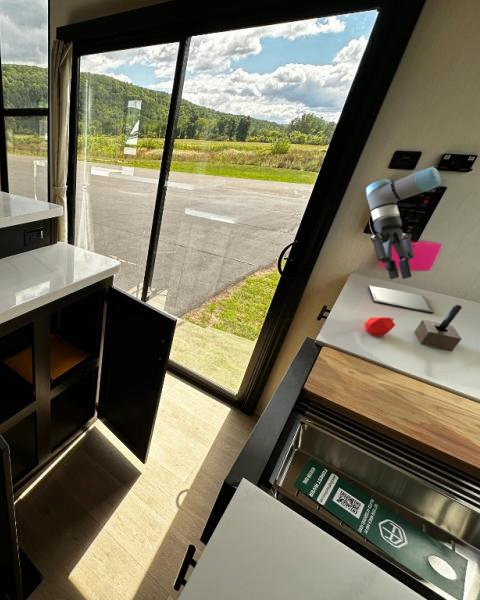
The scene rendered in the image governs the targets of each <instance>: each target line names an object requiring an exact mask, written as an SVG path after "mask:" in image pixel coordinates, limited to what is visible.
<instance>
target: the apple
mask: <svg viewBox="0 0 480 600" xmlns="http://www.w3.org/2000/svg"><path fill="white" fill-rule="evenodd" d="M395 326H396V324H395V323H394V318H391V317H387V316H386V317H385V316H379V317H377V316H376V317H369V318H368V319H367V321H365V323H364V328H365V329H364V330H365V331H366V332H367V333H368V334H370V335H371V336H374V337H375V336H377V337H385V336H386V335H388V333H389V332H391V331H392V330H393V329H394V327H395Z"/></svg>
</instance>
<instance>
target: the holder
mask: <svg viewBox="0 0 480 600" xmlns="http://www.w3.org/2000/svg"><path fill="white" fill-rule="evenodd" d="M441 323H442V322H437V321H431V320H427V319H421V321H420V323H419V324H418V325H417V326H416V329H414V334H415V336H416V338H417V339H418V343H419V344H420V345H424V346H428V347H431V348H436V349H440V350H445V351H449V352H453V351H454V349H455V348H456V347H457V345H458V344H459V343H460V342H461V340H462V337H461V335H460V334H459V332H458V331H457V329H456V328H455V326H454V325H451V324H449V325H448V327H447V328H446V329H445V331H439V330H437V328H438V327H439V326H440V324H441Z"/></svg>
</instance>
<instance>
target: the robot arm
mask: <svg viewBox="0 0 480 600" xmlns="http://www.w3.org/2000/svg"><path fill="white" fill-rule="evenodd" d="M429 167H430V166H429ZM434 167H435V166H432V167H430V168H427V169H425V170H421V171H418V170H417V171H418V172H416V171H415V172H413V173H412V174H409V175H407V176H405V177H402V178H400V179H397V180H395V181H391V180H390V179H381V180H377V181H374V182H372V183H370V184H368V186H366V189H365V193H366V199H367V203H368V207H369V211H370V214H371V219H372V222H373V228H374V231H375V232H376V234H375V235H372V236H370V238H369V239H370V241H371V242H372V244H373V247H374V251H375V255H376V258H377V261H379V262H381V263H382V264H384V265H385V269H386V271H387V273H388V277H389V279H390V280H393V279H397V278H399V277H400V275H401V278H402V279H403V280H405V279H408V278H412V277H413V275H412V272H411V264H410V260H412V259H415V253H414V249H413V244H412V240H411V239H412V234H411V233H409V232H408V233H405V232H403V230H402V226H403V222H402V219H401V217H400V211H399V208H398V207H399V206H398V204H397V202H398V201H403V200H405V199H408V198H410V197H414V196H416V195H420V194H423V193H425V192H429V191H430V190H433V189H437V188H439V187H438V186H440V185H441V176H440V174H439V172H438V170H437V169H436V168H434ZM391 184H392V185H391ZM391 186H392V187H391ZM436 187H437V188H436ZM392 190H393V191H392ZM393 248H394V251H395V252H396V255H397V257H398V259H399V261H398V267H397V262H396V260H395V259H393ZM398 268H399V270H398ZM398 271H400V275H399V272H398Z"/></svg>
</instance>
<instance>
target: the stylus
mask: <svg viewBox="0 0 480 600" xmlns="http://www.w3.org/2000/svg"><path fill="white" fill-rule="evenodd" d="M462 308H463V306H462V305H460V304H455V305H454V306H453V307H452V308H451V309H450V311H449V312H448V314H447V315H446V316H445V317H444V319H443V320H442V321H441V322H440V323H441V324H440V326H439V327H438V328H437V330H439V331H445V329H446V328H447V327H448V325H451V323H452V322H453V321H454V319H455V317H456V316H457V315H458V314H459V312H460V311H461V310H462Z"/></svg>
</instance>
